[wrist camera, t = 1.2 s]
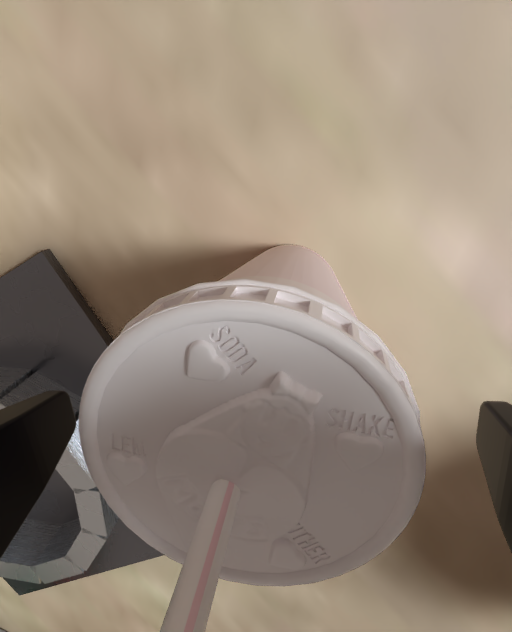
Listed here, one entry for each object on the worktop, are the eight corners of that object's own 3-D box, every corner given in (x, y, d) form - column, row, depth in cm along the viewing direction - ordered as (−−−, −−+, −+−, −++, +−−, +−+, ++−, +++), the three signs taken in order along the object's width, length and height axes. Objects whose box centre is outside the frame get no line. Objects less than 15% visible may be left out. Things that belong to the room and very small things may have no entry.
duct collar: (241, 525, 21) (228, 581, 19) (24, 587, 27) (-11, 638, 24) (49, 248, 17) (-4, 268, 15) (-164, 384, 22) (-233, 418, 20)
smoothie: (183, 315, 17) (-219, 783, 5) (257, 172, 15) (-190, 354, 2) (316, 391, 18) (278, 1022, 5) (411, 264, 15) (835, 907, 2)
